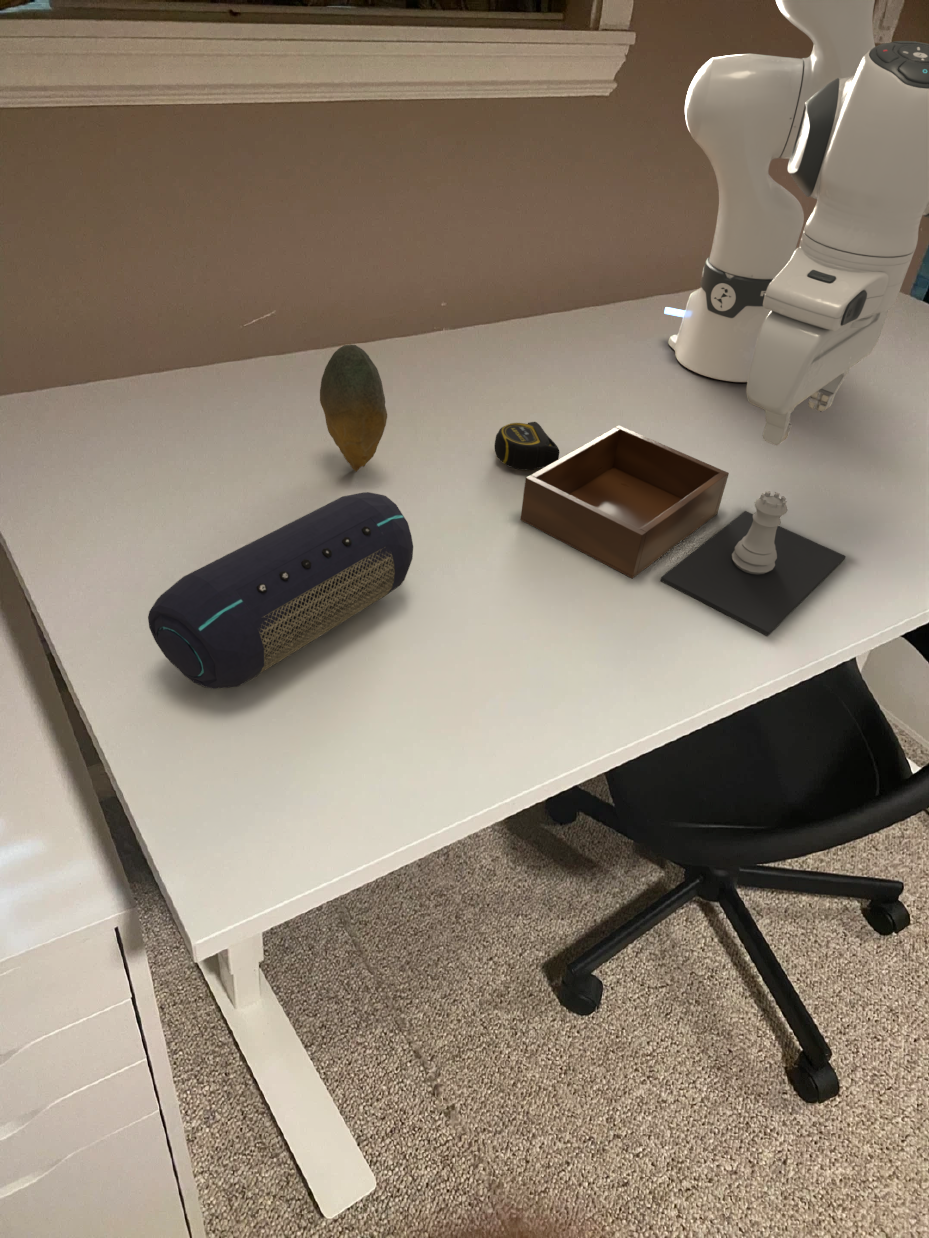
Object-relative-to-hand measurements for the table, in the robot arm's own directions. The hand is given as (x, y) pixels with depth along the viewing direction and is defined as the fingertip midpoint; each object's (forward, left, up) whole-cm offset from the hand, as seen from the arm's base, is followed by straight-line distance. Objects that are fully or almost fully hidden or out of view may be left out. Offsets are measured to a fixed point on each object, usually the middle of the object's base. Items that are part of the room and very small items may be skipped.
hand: (796, 423), depth 85 cm
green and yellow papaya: (+17, -42, -17) cm, 48 cm away
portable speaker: (+40, -25, -17) cm, 50 cm away
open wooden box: (+2, -15, -17) cm, 22 cm away
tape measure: (0, -30, -17) cm, 34 cm away
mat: (0, +1, -17) cm, 17 cm away
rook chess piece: (0, 0, -16) cm, 16 cm away
